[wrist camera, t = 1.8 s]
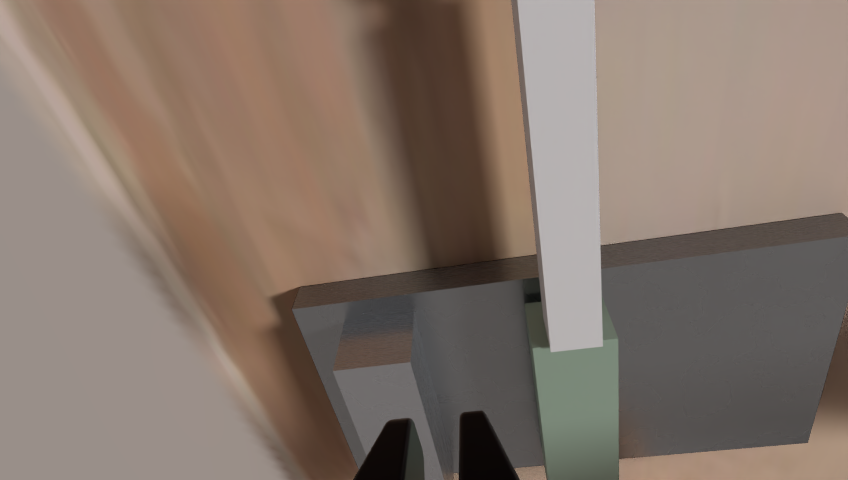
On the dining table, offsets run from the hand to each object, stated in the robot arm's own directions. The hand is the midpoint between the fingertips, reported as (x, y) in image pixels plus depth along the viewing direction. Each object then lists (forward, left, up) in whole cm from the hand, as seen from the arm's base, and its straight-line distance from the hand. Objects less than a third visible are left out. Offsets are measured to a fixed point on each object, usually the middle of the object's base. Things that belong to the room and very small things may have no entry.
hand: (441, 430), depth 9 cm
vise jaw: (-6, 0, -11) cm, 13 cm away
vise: (-11, +5, -13) cm, 18 cm away
